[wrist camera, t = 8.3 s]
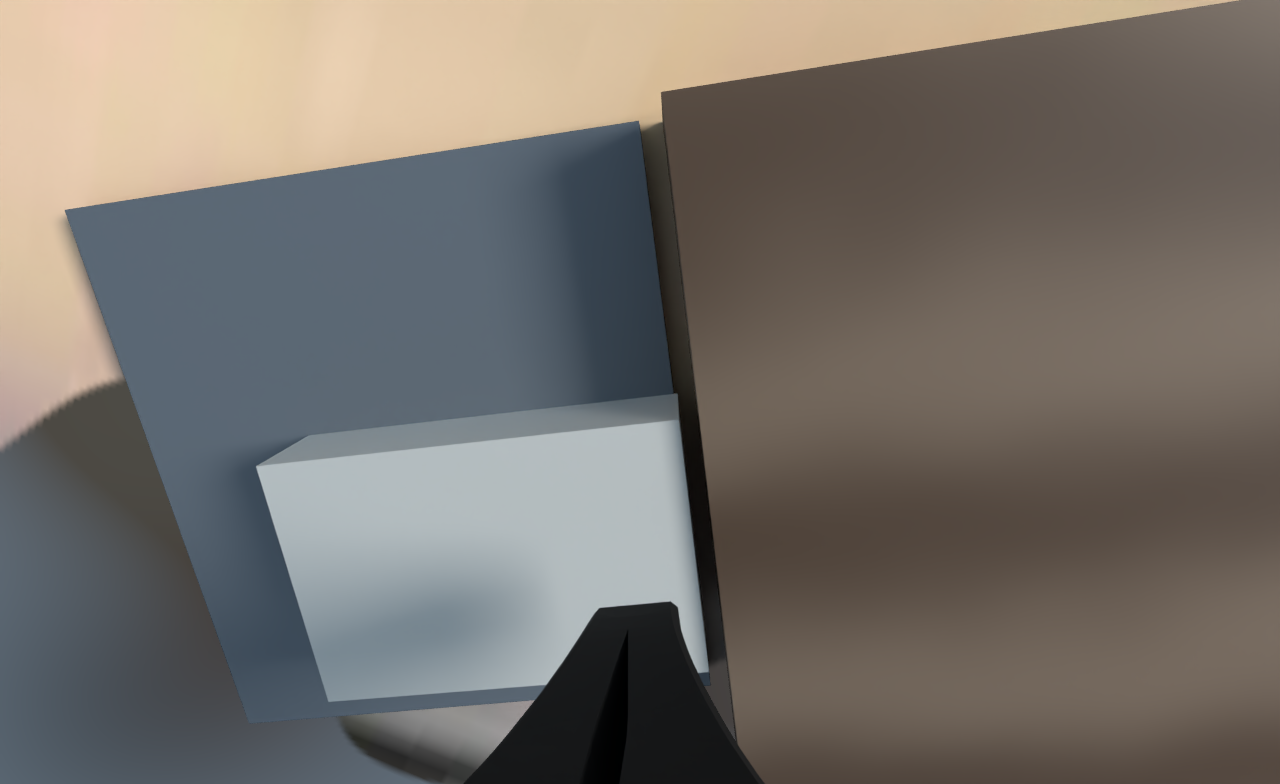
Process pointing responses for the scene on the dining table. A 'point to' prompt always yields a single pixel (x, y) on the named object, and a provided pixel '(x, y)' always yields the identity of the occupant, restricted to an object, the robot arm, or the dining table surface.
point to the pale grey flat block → (483, 542)
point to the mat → (366, 341)
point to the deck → (995, 403)
